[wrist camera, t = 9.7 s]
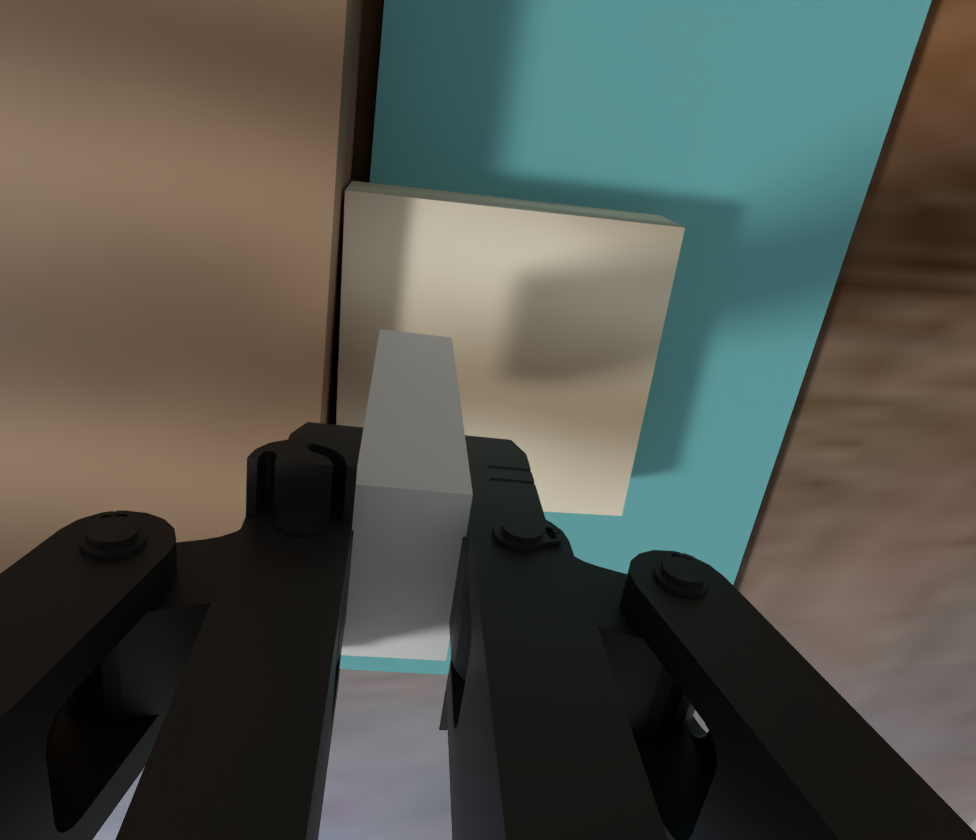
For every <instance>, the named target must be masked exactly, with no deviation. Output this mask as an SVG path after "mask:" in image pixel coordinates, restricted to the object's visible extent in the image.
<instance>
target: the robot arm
mask: <svg viewBox="0 0 976 840" xmlns="http://www.w3.org/2000/svg"><path fill="white" fill-rule="evenodd" d="M449 640H450V647H451V661H450V667H449V673H448V679H447V685H446V691H445V697H444V704H443V710H442V716H441V722H440V728H439V730H447V729H448V745H449V769H450V793H451V817H452V840H976V833H975V832H974V831H973V830H972V829H971V828H970V827H969V826H968V825H967V824H966V823H965V822H964V821H963V820H962V819H961V818H960V817H959V816H958V815H957V814H956V813H955V812H954V811H953V810H952V808H951V807H950V806H949V805H948V804H947V803H946V802H945V801H944V800H943V799H942V798H941V797H940V796H939V795H938V794H937V793H936V792H935V791H934V790H933V789H932V788H931V787H930V786H929V785H928V784H927V783H926V782H925V781H924V780H923V779H922V778H921V777H920V776H919V775H918V774H917V773H916V772H915V771H914V770H913V769H912V768H911V767H910V766H909V765H908V764H907V763H906V762H905V761H904V759H903V758H902V757H901V756H900V755H899V754H898V753H897V752H896V751H895V750H894V749H893V748H892V747H891V746H890V745H889V744H888V743H887V742H886V741H885V740H884V739H883V738H882V737H881V736H880V735H879V734H878V733H877V732H876V731H875V730H874V729H873V728H872V727H871V726H870V725H869V724H868V723H867V722H866V721H865V720H864V719H863V718H862V717H861V716H860V715H859V714H858V713H857V712H856V710H855V709H854V708H853V707H852V706H851V705H850V704H849V703H848V702H847V701H846V700H845V699H844V698H843V697H842V696H841V695H840V694H839V693H838V692H837V691H836V690H835V689H834V688H833V687H832V686H831V685H830V684H829V683H828V682H827V681H826V680H825V679H824V678H823V677H822V676H821V675H820V674H819V673H818V672H817V671H816V670H815V669H814V668H813V667H812V666H811V665H810V664H809V663H808V662H807V660H806V659H805V658H804V657H803V656H802V655H801V654H800V653H799V652H798V651H797V650H796V649H795V648H794V647H793V646H792V645H791V644H790V643H789V642H788V641H787V640H786V639H785V638H784V637H783V636H782V635H781V634H780V633H779V632H778V631H777V630H776V629H775V628H774V627H773V626H772V625H771V624H770V623H769V622H768V621H767V620H766V619H765V618H764V617H763V616H762V615H761V614H760V613H759V611H758V610H757V609H756V608H755V607H754V606H753V605H752V604H751V603H750V602H749V601H748V600H747V599H746V598H745V597H744V596H743V595H742V594H741V593H740V592H739V591H738V590H737V589H736V588H735V587H734V586H733V585H732V584H731V583H730V582H729V581H728V580H727V579H726V578H725V577H724V576H723V575H722V574H721V573H719V572H718V571H717V570H715V569H714V568H713V567H712V566H710V565H709V564H707V563H705V562H703V561H701V560H698V559H696V558H695V557H693V556H691V555H688V554H685V553H683V554H682V553H680V552H677V551H665V550H652V551H647V552H643V553H639V554H638V555H637V556H636V557H634V558H633V559H632V560H631V562H630V565H629V569H628V573H627V574H625V573H621V572H617V571H614V570H610V569H606V568H603V567H599V566H596V565H593V564H590V563H587V562H585V561H583V560H581V559H579V558H577V557H575V556H574V554H573V551H572V548H571V545H570V542H569V540H568V538H567V537H566V535H565V534H564V532H563V531H562V530H561V529H560V528H558V527H557V526H555V525H554V524H553V523H551V522H550V521H548V520H546V519H545V516H544V512H543V509H542V505H541V502H540V499H539V495H538V492H537V489H536V485H534V478H533V475H532V472H531V468H530V465H529V462H528V458H527V455H526V453H525V452H524V451H522V450H521V449H520V448H519V447H518V446H517V445H516V444H515V443H514V442H513V441H512V440H508V439H498V438H488V437H478V436H468V435H465V433H464V425H463V418H462V410H461V403H460V395H459V388H458V380H457V373H456V365H455V358H454V350H453V343H452V338H451V337H442V336H434V335H425V334H417V333H408V332H400V331H391V330H382V329H380V331H379V337H378V343H377V349H376V355H375V361H374V368H373V374H372V380H371V386H370V392H369V398H368V404H367V410H366V416H365V422H364V427H354V426H344V425H333V424H323V423H313V422H307V423H305V424H304V425H302V426H301V427H299V428H298V429H297V430H295V431H294V432H292V433H291V434H290V436H289V438H288V440H282V441H276V442H270V443H268V444H266V445H263V446H261V447H259V448H256V449H255V450H254V451H253V452H252V453H251V454H250V455H249V456H248V457H247V480H246V517H245V519H244V522H243V524H242V527H241V529H240V530H238V531H236V532H233V533H230V534H227V535H224V536H221V537H215V538H209V539H204V540H195V541H186V542H176V535H175V529H174V528H173V527H172V526H171V525H170V524H169V523H168V522H167V521H166V520H165V519H163V518H160V517H157V516H155V515H152V514H149V513H144V512H134V511H127V510H126V511H115V512H113V511H108V512H102V513H99V514H95V515H92V516H88V517H85V518H81V519H78V520H76V521H74V522H72V523H71V524H69V525H67V526H65V527H63V528H61V529H60V530H58V531H57V532H55V533H54V534H53V535H51V536H50V537H49V538H47V539H46V540H45V541H43V542H42V543H41V544H39V545H38V546H37V547H35V548H34V549H33V550H31V551H30V552H29V553H27V554H26V555H25V556H23V557H22V558H21V559H19V560H18V561H17V562H15V563H14V564H13V565H11V566H10V567H9V568H7V569H6V570H4V571H3V572H2V573H0V840H92V839H93V838H94V837H95V835H96V834H97V832H98V831H99V830H100V828H101V827H102V825H103V824H104V823H105V821H106V820H107V818H108V817H109V816H110V814H111V813H112V812H113V810H114V809H115V807H116V806H117V805H118V803H119V802H120V800H121V799H122V798H123V796H124V795H125V793H126V792H127V791H128V789H129V788H130V786H131V785H132V784H133V782H134V781H135V779H136V778H137V777H138V775H139V774H140V772H141V771H142V770H143V768H144V767H145V768H144V770H143V773H142V775H141V778H140V780H139V783H138V785H137V788H136V790H135V793H134V795H133V798H132V800H131V803H130V805H129V808H128V810H127V813H126V815H125V818H124V820H123V823H122V825H121V828H120V830H119V833H118V835H117V838H116V840H318V834H319V827H320V819H321V812H322V804H323V797H324V789H325V781H326V774H327V766H328V759H329V751H330V744H331V736H332V728H333V721H334V713H335V706H336V698H337V691H338V683H339V672H340V660H341V655H348V656H366V657H384V658H403V659H421V660H439V661H446V659H447V652H448V646H449ZM695 710H696V711H697V713H698V714H699V715H700V717H701V718H702V719H703V721H704V722H705V724H706V726H707V727H708V729H709V731H708V733H706V732H705V731H704V730H703V729H702V728H701V727H700V725H699V724H698V722H697V721H696V720H695V718H694V717H693V714H694V711H695Z"/></svg>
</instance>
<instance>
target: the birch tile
mask: <svg viewBox="0 0 976 840" xmlns="http://www.w3.org/2000/svg"><path fill="white" fill-rule="evenodd" d="M684 231H685V227H683V226H681V225H679V224H677V223H675V222H673V221H671V220H669V219H667V218H665V217H663V216H661V215H655V214H646V213H637V212H628V211H620V210H611V209H602V208H593V207H584V206H575V205H566V204H557V203H548V202H539V201H530V200H521V199H512V198H503V197H494V196H485V195H476V194H467V193H458V192H449V191H440V190H431V189H422V188H413V187H404V186H395V185H386V184H377V183H368V182H359V181H352V182H351V183H350V184H349V186H348V187H347V188H346V190H345V201H344V227H343V254H342V281H341V308H340V334H339V361H338V388H337V414H336V425H344V426H354V427H364V422H365V416H366V410H367V404H368V398H369V392H370V386H371V380H372V374H373V368H374V361H375V355H376V349H377V343H378V337H379V331H380V329H382V330H391V331H400V332H408V333H417V334H425V335H434V336H442V337H451V338H452V343H453V350H454V358H455V365H456V373H457V380H458V388H459V395H460V403H461V410H462V418H463V425H464V433H465V435H468V436H478V437H488V438H498V439H508V440H512V441H513V442H514V443H515V444H516V445H517V446H518V447H519V448H520V449H521V450H522V451H524V452H525V453H526V455H527V458H528V462H529V465H530V468H531V472H532V475H533V478H534V485H536V489H537V492H538V495H539V499H540V502H541V505H542V509H543V511H544V512H561V513H578V514H596V515H613V516H622V513H623V509H624V504H625V500H626V495H627V490H628V486H629V481H630V477H631V472H632V468H633V463H634V459H635V454H636V449H637V445H638V440H639V436H640V431H641V427H642V422H643V418H644V413H645V408H646V404H647V399H648V395H649V390H650V386H651V381H652V377H653V372H654V367H655V363H656V358H657V354H658V349H659V345H660V340H661V336H662V331H663V326H664V322H665V317H666V313H667V308H668V304H669V299H670V294H671V290H672V285H673V281H674V276H675V272H676V267H677V263H678V258H679V253H680V249H681V244H682V240H683V235H684Z"/></svg>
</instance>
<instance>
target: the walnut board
mask: <svg viewBox="0 0 976 840" xmlns="http://www.w3.org/2000/svg"><path fill="white" fill-rule="evenodd" d="M363 4H364V0H0V573H2V572H3V571H4V570H6V569H7V568H9V567H10V566H11V565H13V564H14V563H15V562H17V561H18V560H19V559H21V558H22V557H23V556H25V555H26V554H27V553H29V552H30V551H31V550H33V549H34V548H35V547H37V546H38V545H39V544H41V543H42V542H43V541H45V540H46V539H47V538H49V537H50V536H51V535H53V534H54V533H55V532H57V531H58V530H60V529H61V528H63V527H65V526H67V525H69V524H71V523H72V522H74V521H76V520H78V519H81V518H85V517H88V516H92V515H95V514H99V513H102V512H108V511H113V512H115V511H126V510H127V511H134V512H144V513H149V514H152V515H155V516H157V517H160V518H163V519H165V520H166V521H167V522H168V523H169V524H170V525H171V526H172V527H173V528H174V529H175V535H176V542H186V541H195V540H204V539H209V538H215V537H221V536H224V535H227V534H230V533H233V532H236V531H238V530H240V529H241V527H242V524H243V522H244V519H245V517H246V480H247V457H248V456H249V455H250V454H251V453H252V452H253V451H254V450H255V449H256V448H259V447H261V446H263V445H266V444H268V443H270V442H276V441H282V440H288V438H289V436H290V434H291V433H292V432H294V431H295V430H297V429H298V428H299V427H301V426H302V425H304V424H305V423H307V422H313V423H323V424H333V425H334V411H335V397H336V383H337V369H338V355H339V334H340V308H341V281H342V254H343V227H344V201H345V190H346V188H347V187H348V186H349V184H350V183H351V172H352V158H353V144H354V130H355V116H356V102H357V88H358V74H359V60H360V46H361V32H362V18H363Z"/></svg>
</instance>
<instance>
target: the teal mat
mask: <svg viewBox="0 0 976 840" xmlns="http://www.w3.org/2000/svg"><path fill="white" fill-rule="evenodd" d="M931 1H932V0H384V11H383V23H382V35H381V48H380V60H379V72H378V85H377V97H376V109H375V122H374V134H373V147H372V159H371V171H370V183H377V184H386V185H395V186H404V187H413V188H422V189H431V190H440V191H449V192H458V193H467V194H476V195H485V196H494V197H503V198H512V199H521V200H530V201H539V202H548V203H557V204H566V205H575V206H584V207H593V208H602V209H611V210H620V211H628V212H637V213H646V214H655V215H661V216H663V217H665V218H667V219H669V220H671V221H673V222H675V223H677V224H679V225H681V226H683V227H685V231H684V235H683V240H682V244H681V249H680V253H679V258H678V263H677V267H676V272H675V276H674V281H673V285H672V290H671V294H670V299H669V304H668V308H667V313H666V317H665V322H664V326H663V331H662V336H661V340H660V345H659V349H658V354H657V358H656V363H655V367H654V372H653V377H652V381H651V386H650V390H649V395H648V399H647V404H646V408H645V413H644V418H643V422H642V427H641V431H640V436H639V440H638V445H637V449H636V454H635V459H634V463H633V468H632V472H631V477H630V481H629V486H628V490H627V495H626V500H625V504H624V509H623V513H622V516H613V515H596V514H578V513H561V512H544V511H543V512H544V516H545V519H546V520H548V521H550V522H551V523H553V524H554V525H555V526H557V527H558V528H560V529H561V530H562V531H563V532H564V534H565V535H566V537H567V538H568V540H569V542H570V545H571V548H572V551H573V554H574V556H575V557H577V558H579V559H581V560H583V561H585V562H587V563H590V564H593V565H596V566H599V567H603V568H606V569H610V570H614V571H617V572H621V573H625V574H627V573H628V569H629V565H630V562H631V560H632V559H633V558H634V557H636V556H637V555H638V554H639V553H643V552H647V551H652V550H665V551H677V552H680V553H682V554H683V553H685V554H688V555H691V556H693V557H695V558H696V559H698V560H701V561H703V562H705V563H707V564H709V565H710V566H712V567H713V568H714V569H715V570H717V571H718V572H719V573H721V574H722V575H723V576H724V577H725V578H726V579H727V580H728V581H729V582H730V583H731V584H732V585H733V584H734V581H735V578H736V576H737V573H738V570H739V567H740V564H741V561H742V558H743V555H744V552H745V549H746V546H747V543H748V540H749V537H750V534H751V531H752V528H753V525H754V522H755V520H756V517H757V514H758V511H759V508H760V505H761V502H762V499H763V496H764V493H765V490H766V487H767V484H768V481H769V478H770V475H771V472H772V469H773V467H774V464H775V461H776V458H777V455H778V452H779V449H780V446H781V443H782V440H783V437H784V434H785V431H786V428H787V425H788V422H789V419H790V416H791V414H792V411H793V408H794V405H795V402H796V399H797V396H798V393H799V390H800V387H801V384H802V381H803V378H804V375H805V372H806V369H807V366H808V363H809V360H810V358H811V355H812V352H813V349H814V346H815V343H816V340H817V337H818V334H819V331H820V328H821V325H822V322H823V319H824V316H825V313H826V310H827V307H828V305H829V302H830V299H831V296H832V293H833V290H834V287H835V284H836V281H837V278H838V275H839V272H840V269H841V266H842V263H843V260H844V257H845V254H846V251H847V249H848V246H849V243H850V240H851V237H852V234H853V231H854V228H855V225H856V222H857V219H858V216H859V213H860V210H861V207H862V204H863V201H864V198H865V196H866V193H867V190H868V187H869V184H870V181H871V178H872V175H873V172H874V169H875V166H876V163H877V160H878V157H879V154H880V151H881V148H882V145H883V143H884V140H885V137H886V134H887V131H888V128H889V125H890V122H891V119H892V116H893V113H894V110H895V107H896V104H897V101H898V98H899V95H900V92H901V89H902V87H903V84H904V81H905V78H906V75H907V72H908V69H909V66H910V63H911V60H912V57H913V54H914V51H915V48H916V45H917V42H918V39H919V36H920V34H921V31H922V28H923V25H924V22H925V19H926V16H927V13H928V10H929V7H930V4H931ZM450 661H451V647H450V640H449V646H448V652H447V659H446V661H439V660H421V659H403V658H384V657H366V656H348V655H341V660H340V669H351V670H370V671H389V672H407V673H426V674H444V675H448V673H449V667H450Z"/></svg>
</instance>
